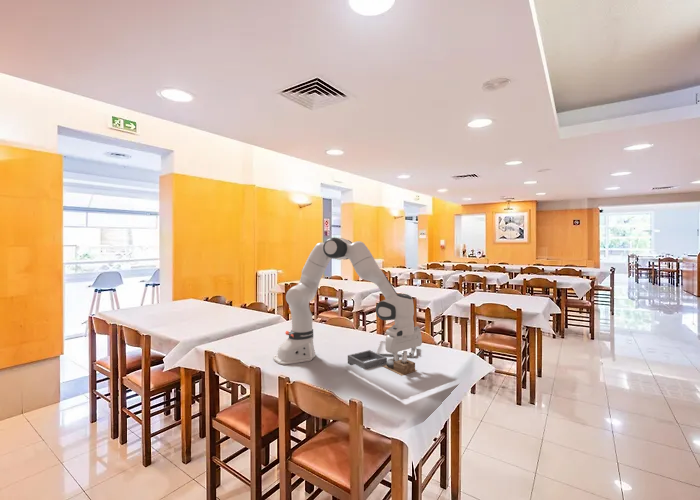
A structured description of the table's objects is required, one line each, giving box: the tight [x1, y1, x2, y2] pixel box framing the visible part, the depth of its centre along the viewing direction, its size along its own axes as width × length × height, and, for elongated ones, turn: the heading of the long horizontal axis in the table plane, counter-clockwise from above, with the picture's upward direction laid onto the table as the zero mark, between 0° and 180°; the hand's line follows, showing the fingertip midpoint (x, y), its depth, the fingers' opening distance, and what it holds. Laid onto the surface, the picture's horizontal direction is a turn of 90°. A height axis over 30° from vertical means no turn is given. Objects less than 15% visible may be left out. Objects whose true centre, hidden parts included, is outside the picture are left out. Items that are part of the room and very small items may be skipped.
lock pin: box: [401, 351, 408, 364], centre depth 156 cm, size 2×2×9 cm
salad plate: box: [375, 340, 418, 358], centre depth 185 cm, size 21×21×3 cm
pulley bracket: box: [381, 356, 418, 377], centre depth 159 cm, size 10×14×6 cm
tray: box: [347, 349, 388, 370], centre depth 169 cm, size 14×14×4 cm
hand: (404, 358), depth 156 cm, fingers open, 8 cm apart
